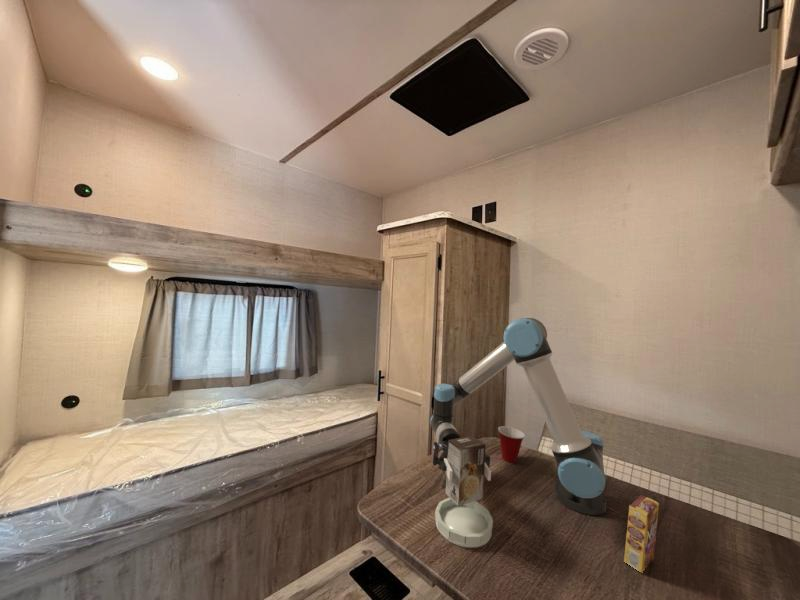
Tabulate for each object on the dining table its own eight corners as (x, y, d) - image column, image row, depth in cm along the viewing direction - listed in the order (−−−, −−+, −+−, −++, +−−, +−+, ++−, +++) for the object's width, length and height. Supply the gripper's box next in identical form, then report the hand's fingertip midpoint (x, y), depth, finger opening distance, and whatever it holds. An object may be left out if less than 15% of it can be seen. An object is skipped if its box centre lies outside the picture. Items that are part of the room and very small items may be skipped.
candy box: (643, 576, 75) (647, 514, 74) (623, 563, 78) (626, 504, 78) (656, 560, 80) (659, 502, 80) (636, 548, 83) (639, 493, 83)
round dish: (479, 505, 97) (479, 496, 97) (501, 546, 81) (502, 535, 81) (430, 506, 95) (431, 497, 95) (443, 548, 79) (443, 537, 79)
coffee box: (468, 486, 93) (472, 434, 93) (483, 499, 88) (487, 444, 87) (444, 493, 89) (448, 439, 89) (458, 507, 83) (461, 449, 83)
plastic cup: (527, 467, 122) (529, 437, 122) (500, 465, 122) (502, 435, 122) (517, 453, 133) (519, 426, 133) (493, 451, 133) (494, 424, 133)
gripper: (479, 449, 107) (508, 489, 85) (416, 448, 105) (429, 489, 83) (481, 428, 107) (510, 462, 85) (417, 427, 105) (430, 462, 83)
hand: (470, 475), depth 84 cm, fingers closed on coffee box, 10 cm apart
